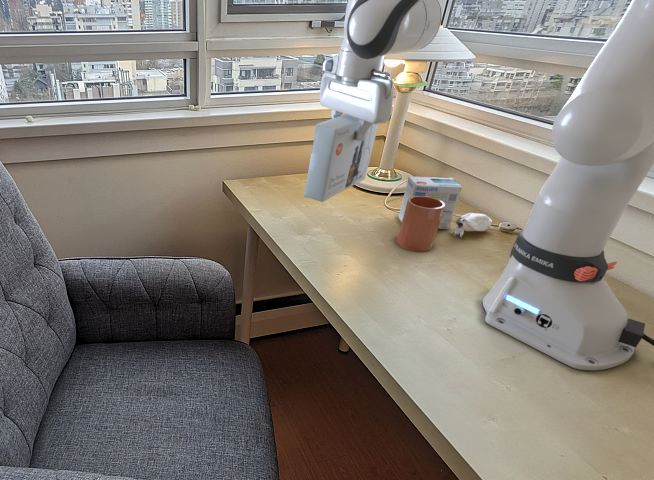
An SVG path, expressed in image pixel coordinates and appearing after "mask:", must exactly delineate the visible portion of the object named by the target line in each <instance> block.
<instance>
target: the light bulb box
mask: <svg viewBox="0 0 654 480" xmlns="http://www.w3.org/2000/svg"><path fill="white" fill-rule="evenodd" d="M406 181H407V182H406V186H405V190H404V194H403V197H402V202H401V207H400V209H399V214H398V219H399V220H400V223H402V220H403V216H404V212H405V208H406V204H407V201H408V198H410V197H412V196H428V197H433V198H436V199H439V200H441V201H442V202H444V203H445V207H444V210H443V214H442V217H441V220H440V223H439V226H438V230H449V229H450V227H451V224H452V220H453V217H454V215H455V211H456V207H457V205H458V202H459V198H460V195H461V192H462V188H463V186H462V185H461V184H460V183H459V182H458V181H457V180H456V179H455V178H454V177H436V176H435V177H434V176H433V177H432V176H431V177H430V176H409V175H408V177H407V180H406Z"/></svg>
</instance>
